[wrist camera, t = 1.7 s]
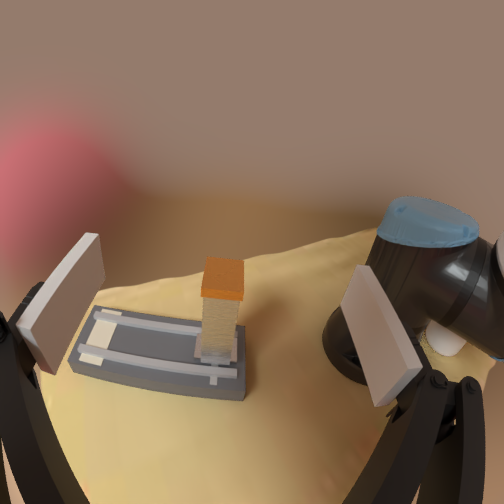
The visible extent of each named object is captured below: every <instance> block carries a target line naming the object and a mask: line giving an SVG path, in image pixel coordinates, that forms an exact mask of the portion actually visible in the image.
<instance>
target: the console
mask: <svg viewBox="0 0 504 504" xmlns="http://www.w3.org/2000/svg"><path fill="white" fill-rule="evenodd" d="M197 334H202V322H201V321H193V320H185V319H177V318H170V317H162V316H156V315H149V314H143V313H136V312H130V311H124V310H119V309H113V308H108V307H102V306H97V305H94V307H93V309H92V311H91V313H90V315H89V317H88V319H87V320H86V322H85V324H84V326H83V328H82V331H81V333H80V335H79V337H78V339H77V341H76V343H75V345H74V347H73V349H72V352H71V354H70V356H69V358H68V360H67V361H68V363H69V365H70V366H71V368H72V370H73V372H76V373H79V374H82V375H86V376H90V377H93V378H97V379H101V380H105V381H109V382H113V383H118V384H122V385H127V386H131V387H136V388H141V389H147V390H152V391H158V392H164V393H170V394H177V395H184V396H192V397H201V398H210V399H221V400H235V401H243V399H244V395H245V392H246V381H245V326H240V325H236V328H235V334H234V337H236V338H237V363H231V362H230V364H229V365H221V364H211V363H202V362H201V359H194V352H195V345H196V338H197Z"/></svg>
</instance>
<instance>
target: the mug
mask: <svg viewBox="0 0 504 504" xmlns="http://www.w3.org/2000/svg"><path fill="white" fill-rule="evenodd" d="M425 334H426V339H427V342H428V343H429V345H430V346H431V348H432V349H433V350H434V351H436V352H437V353H439V354H441V355H443V356H454V355H455V354H457V353H458V352H459V351H460V350H461V348H462V347H463V346H464V344H465V343H466V342H467V341H466V340H464V339H463V338H461V337H460V336H458V335H456V334H455V333H453V332H452V331H450V330H448V329H447V328H445V327H443V326H442V325H440V324H438V323H436V322H435V321H433V320H431V321H430V323H429V325H428V327H427V329H426V333H425Z"/></svg>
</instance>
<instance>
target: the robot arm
mask: <svg viewBox="0 0 504 504" xmlns="http://www.w3.org/2000/svg"><path fill="white" fill-rule="evenodd" d="M478 236H479V225H478V223H477V222H476V221H475V220H474V219H473V218H472V217H471V216H469V215H467V214H465V213H463V212H462V211H460V210H458V209H456V208H454V207H452V206H449V205H447V204H444V203H441V202H438V201H434V200H431V199H427V198H422V197H414V196H403V197H399V198H397V199H395V200H393V201H392V202H391V203H390V205H389V207H388V209H387V211H386V213H385V216H384V218H383V220H382V223H381V225H380V226H379V227H378V229H377V236H376V238H375V241H374V244H373V246H372V249H371V252H370V254H369V257H368V259H367V262H366V264H365V265H357V266H356V268H355V271H354V273H353V275H352V278H351V280H350V283H349V285H348V287H347V290H346V292H345V295H344V297H343V299H342V301H341V304H340V307H338V308H337V309H336V310H335V311H334V312H333V313H332V314H331V316H330V317H329V319H328V321H327V323H326V326H325V328H324V331H323V336H322V341H323V346H324V350H325V352H326V354H327V356H328V358H329V360H330V361H331V362H332V364H333V365H334V366H335V367H336V368H337V369H338V370H339V371H340V372H341V373H343V374H344V375H345V376H347V377H348V378H350V379H352V380H354V381H356V382H358V383H361V384H364V385H368V387H369V391H370V394H371V397H372V400H373V404H374V407H377V406H384V405H389V404H390V403H391V402H392V401H393V400H394V399H395V398H396V399H397V402H398V404H397V405H396V406H395V407H394V408H393V409H392V410H391V411H390V412H389V413H388V414H387V415H386V417H389V416H390V415H391V417H390V419H389V421H388V423H387V425H386V428H385V430H384V432H383V434H382V436H381V438H380V440H379V442H378V444H377V446H376V448H375V450H374V452H373V453H372V455H371V457H370V459H369V461H368V463H367V464H366V466H365V468H364V470H363V471H362V473H361V475H360V476H359V478H358V480H357V481H356V483H355V485H354V486H353V488H352V489H351V491H350V492H349V494H348V496H347V497H346V499H345V500H344V501H343V503H342V504H411V503H412V501H413V499H414V496H415V494H416V492H417V490H418V488H419V485H420V489H419V494H418V499H417V503H416V504H482V500H483V491H484V478H485V422H484V409H483V399H482V390H481V387H480V385H479V383H478V381H477V380H476V379H474V378H473V377H471V376H466V377H464V378H463V379H462V380H461V381H460V382H459V383H456V382H451V381H448V379H447V378H446V376H445V375H444V374H443V373H441V372H440V371H438V370H433V369H432V367H431V365H430V363H429V361H428V359H427V357H426V355H425V353H424V351H423V349H422V347H421V346H420V341H421V338H422V335H423V331H424V330H425V328H426V327H427V325H428V324H429V322H430V321H431V320H433V321H435V322H436V323H438V324H440V325H442V326H443V327H445V328H447V329H448V330H450V331H452V332H453V333H455V334H456V335H458V336H460V337H461V338H463V339H464V340H466V341H467V342H469V343H471V344H472V345H474V346H475V347H477V348H478V349H480V350H482V351H483V352H485V353H486V354H488V355H489V356H490V357H491V358H493V359H495V360H498V361H502V362H504V231H503V232H502V233H501V235H500V236H499V238H498V240H497V241H496V243H495V244H494V245H492V244H490V243H489V242H487V241H485V240H483V239H482V238H480V237H478ZM104 280H105V273H104V268H103V261H102V254H101V248H100V240H99V234H94V233H85V235H84V236H83V237H82V238H81V239H80V240H79V241H78V243H77V244H76V245H75V246H74V247H73V248H72V249H71V251H70V252H69V253H68V254H67V256H66V257H65V258H64V259H63V260H62V262H61V263H60V264H59V265H58V267H57V268H56V269H55V270H54V272H53V273H52V274H51V276H50V277H49V278H48V279H47V281H46V282H39V283H38V284H37V285H35V286H34V287H32V289H31V290H30V291H29V293H28V294H27V295H26V297H25V298H24V299H23V301H22V303H20V305H19V306H18V308H17V309H16V311H15V312H14V313H13V315H12V316H11V318H10V319H9V321H8V322H7V321H6V320H5V317H4V315H3V313H2V312H1V311H0V504H11V501H10V496H9V492H8V487H7V482H6V475H5V469H4V461H3V453H2V443H1V438H2V442H3V446H4V449H5V452H6V455H7V459H8V462H9V464H10V467H11V470H12V473H13V476H14V478H15V481H16V483H17V486H18V489H19V491H20V493H21V495H22V498H23V500H24V502H25V504H90V502H89V501H88V499H87V497H86V496H85V494H84V492H83V490H82V489H81V487H80V485H79V483H78V481H77V479H76V478H75V476H74V474H73V472H72V470H71V468H70V466H69V464H68V461H67V459H66V457H65V455H64V453H63V451H62V448H61V446H60V444H59V441H58V439H57V436H56V434H55V431H54V429H53V426H52V423H51V421H50V418H49V415H48V412H47V409H46V406H45V403H44V400H43V397H42V394H41V390H40V387H39V384H38V380H37V376H36V373H35V371H34V369H33V367H34V365H35V363H36V362H37V364H38V366H39V367H40V369H41V370H42V371H44V372H47V373H50V374H53V375H56V372H57V370H58V368H59V366H60V364H61V361H62V359H63V357H64V355H65V353H66V351H67V349H68V347H69V345H70V342H71V340H72V338H73V336H74V334H75V332H76V331H77V329H78V327H79V325H80V323H81V321H82V319H83V317H84V315H85V313H86V312H87V310H88V308H89V306H90V304H91V302H92V301H93V299H94V297H95V295H96V294H97V292H98V290H99V288H100V287H101V285H102V283H103V281H104ZM455 419H456V425H454V420H455ZM420 483H421V484H420Z"/></svg>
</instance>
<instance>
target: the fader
mask: <svg viewBox="0 0 504 504" xmlns="http://www.w3.org/2000/svg"><path fill="white" fill-rule="evenodd" d="M243 295H244V261H242V260H233V259H223V258H215V257H207V260H206V265H205V270H204V275H203V281H202V286H201V297H203V311H202V334H197V338H196V345H195V352H194V359H201V362H202V363H211V364H221V365H229V364H230V362H231V363H237V338H236V337H234V334H235V328H236V322H237V316H238V309H239V303H240V301H243Z"/></svg>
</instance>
